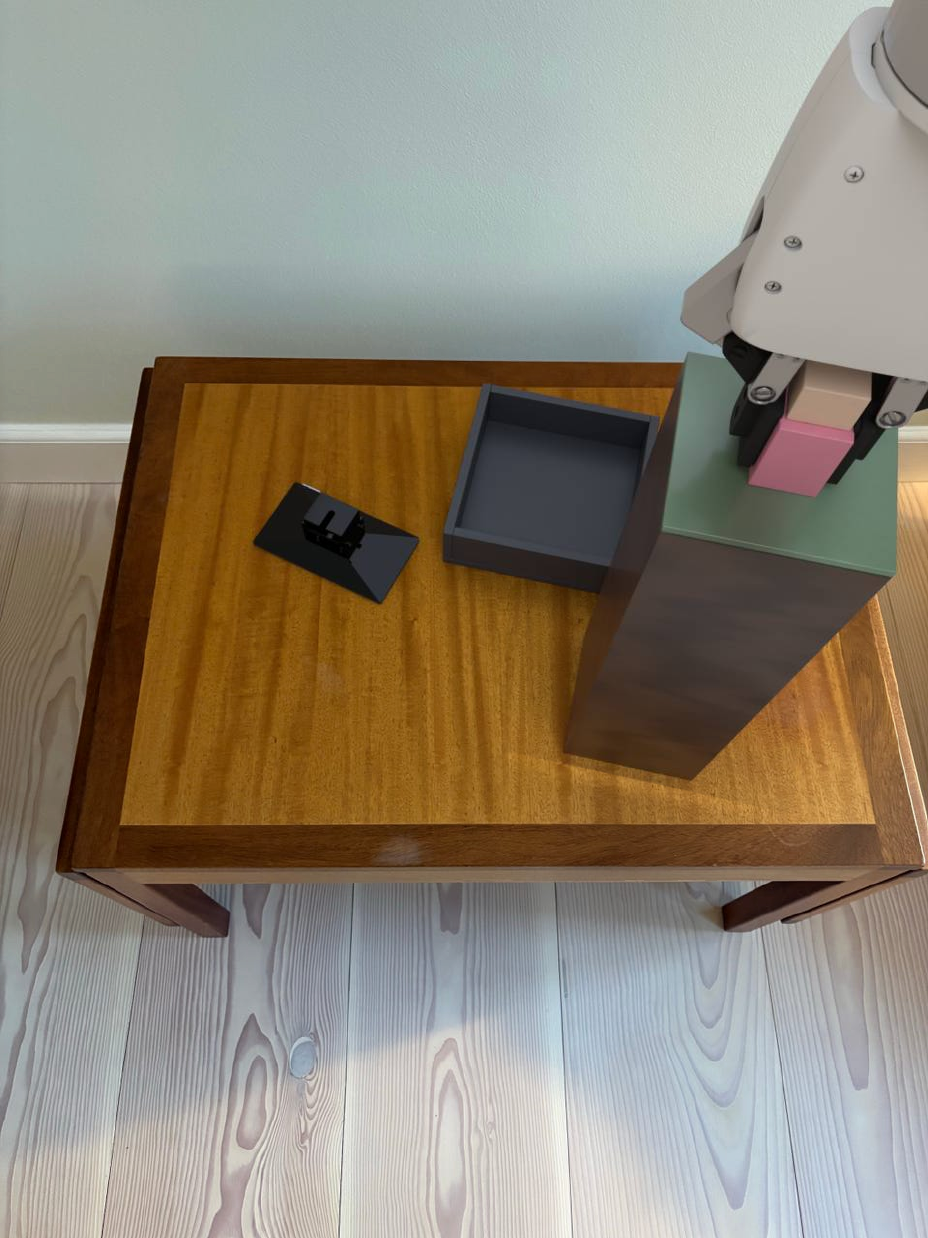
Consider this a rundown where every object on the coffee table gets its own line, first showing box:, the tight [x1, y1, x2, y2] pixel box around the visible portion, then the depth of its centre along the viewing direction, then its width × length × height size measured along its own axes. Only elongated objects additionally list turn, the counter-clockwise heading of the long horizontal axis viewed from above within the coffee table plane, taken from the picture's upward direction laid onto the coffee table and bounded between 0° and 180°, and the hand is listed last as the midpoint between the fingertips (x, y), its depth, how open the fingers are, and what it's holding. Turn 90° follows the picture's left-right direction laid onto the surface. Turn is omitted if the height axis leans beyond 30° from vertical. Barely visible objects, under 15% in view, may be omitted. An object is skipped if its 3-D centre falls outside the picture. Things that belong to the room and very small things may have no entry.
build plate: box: [252, 481, 420, 605], centre depth 74 cm, size 12×7×5 cm, turn 63°
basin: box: [442, 382, 661, 595], centre depth 76 cm, size 16×16×5 cm
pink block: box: [748, 359, 872, 497], centre depth 37 cm, size 3×4×6 cm
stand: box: [562, 351, 899, 782], centre depth 55 cm, size 10×10×34 cm
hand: (789, 446), depth 40 cm, fingers closed on pink block, 3 cm apart
